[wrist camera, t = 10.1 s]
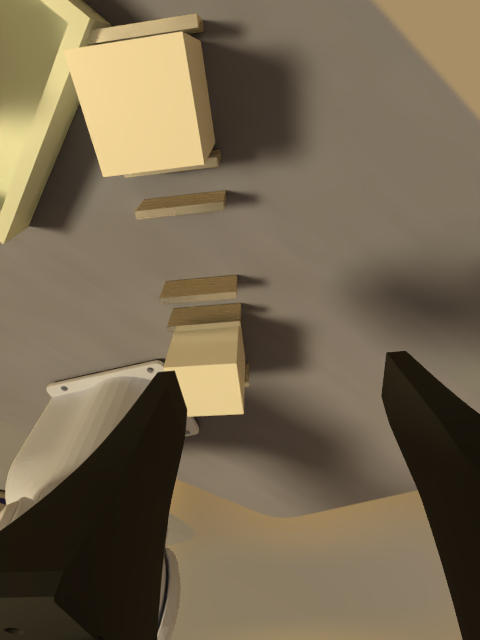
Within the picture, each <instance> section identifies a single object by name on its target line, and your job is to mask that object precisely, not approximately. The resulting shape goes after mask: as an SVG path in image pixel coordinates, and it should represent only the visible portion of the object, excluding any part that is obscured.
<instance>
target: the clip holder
mask: <svg viewBox="0 0 480 640" xmlns="http://www.w3.org/2000/svg"><path fill="white" fill-rule="evenodd" d="M182 31H183V32H184V33H186V34H193V33H199V32H204V27H203V20H202V19H201V18H200V17H199V16H198V15H197V14H191V15H184V16H178V17H172V18H165V19H159V20H152V21H146V22H140V23H133V24H127V25H121V26H114V27H108V28H102V29H95V30H91V31H90V33H89V36H88V39H87V44H89V45H99V44H106V43H112V42H118V41H125V40H131V39H137V38H144V37H150V36H156V35H163V34H169V33H175V32H182ZM220 160H221V153H220V149H218V150H211V152H210V154H209V156H208V158H207V160H206V162H205V164H204V165H196V166H188V167H180V168H172V169H164V170H156V171H148V172H140V173H132V174H124V176H125V178H126V177H135V176H143V175H151V174H160V173H168V172H177V171H185V170H194V169H202V168H210V167H218V165H219V163H220ZM226 199H227V197H226V190H225V191H216V192H207V193H198V194H189V195H180V196H171V197H162V198H154V199H145V200H144V201H143V202H142V203H141V204H140V205H139V207H138V208H137V209H136V210H135V215H136V219H145V218H155V217H164V216H173V215H183V214H192V213H201V212H210V211H220V210H224V209H225V204H226ZM237 285H238V278H237V275H231V276H220V277H210V278H199V279H188V280H177V281H166V282H165V285H164V287H163V290H162V292H161V295H160V297H159V300H160V304H170V303H182V302H193V301H205V300H217V299H228V298H237ZM241 309H242V308H241V303H236V304H224V305H212V306H200V307H188V308H177V309H173V310H172V313H171V316H170V319H169V322H168V325H167V329H168V332H178V331H190V330H203V329H216V328H228V327H241ZM245 387H249V363H245Z"/></svg>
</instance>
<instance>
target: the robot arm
mask: <svg viewBox="0 0 480 640" xmlns="http://www.w3.org/2000/svg"><path fill="white" fill-rule="evenodd" d="M163 367H164V363H163V362H162V361H159V360H155V361H150V362H146V363H141V364H137V365H132V366H128V367H123V368H119V369H114V370H109V371H105V372H100V373H96V374H91V375H87V376H82V377H78V378H73V379H68V380H64V381H59V382H55V383H51V384H49V385H48V387H47V388H46V390H47V392H48V393H49V394H50V396H51V397H52V399H51V400H50V402H49V403H48V405H47V407H46V408H45V410H44V412H43V413H42V415H41V417H40V418H39V420H38V421H37V423H36V425H35V426H34V428H33V430H32V431H31V433H30V435H29V436H28V438H27V439H26V441H25V443H24V444H23V446H22V448H21V449H20V451H19V453H18V454H17V456H16V458H15V459H14V461H13V463H12V465H11V468H10V470H9V473H8V477H7V482H6V490H5V500H6V506H5V507H4V508H3V510H2V511H1V512H0V640H170V639H171V636H172V633H173V630H174V626H175V622H176V618H177V614H178V608H179V602H180V587H181V585H180V574H179V569H178V563H177V559H176V556H175V554H174V553H173V552H172V551H171V550H170V549H169V548H166V547H165V544H166V538H167V533H168V528H167V525H168V517H169V509H170V504H171V499H172V494H173V490H174V485H175V481H176V476H177V472H178V467H179V463H180V459H181V454H182V449H183V445H184V440H185V437H186V436H191V435H196V434H198V432H199V426H198V425H197V423H196V421H195V419H194V417H187V407H186V404H185V401H184V398H183V395H182V392H181V389H180V385H179V382H178V379H177V376H176V373H175V371H164V369H163ZM150 368H153V369H150ZM382 400H383V403H384V407H385V411H386V414H387V417H388V421H389V424H390V426H391V429H392V431H393V433H394V436H395V438H396V440H397V443H398V445H399V447H400V450H401V452H402V454H403V457H404V459H405V461H406V463H407V466H408V468H409V470H410V473H411V475H412V477H413V480H414V482H415V484H416V486H417V489H418V492H419V494H420V497H421V499H422V502H423V505H424V508H425V511H426V514H427V517H428V521H429V523H430V527H431V530H432V533H433V536H434V539H435V543H436V546H437V549H438V553H439V556H440V559H441V562H442V566H443V569H444V573H445V576H446V580H447V583H448V587H449V590H450V594H451V597H452V601H453V604H454V608H455V612H456V616H457V619H458V623H459V627H460V631H461V635H462V639H463V640H480V414H479V413H477V412H476V411H475V410H474V409H472V408H471V407H470V406H468V405H467V404H466V403H465V402H463V401H462V400H461V399H460V398H458V397H457V396H456V395H455V394H454V393H453V392H451V391H450V390H449V389H448V388H447V387H445V386H444V385H443V384H442V383H441V382H440V381H438V380H437V379H436V378H435V377H434V376H433V375H432V374H431V373H430V372H428V371H427V370H426V369H425V368H424V367H423V366H422V365H421V364H420V363H419V362H417V361H416V360H415V359H414V358H413V357H412V356H411V355H410V354H409V353H407V352H406V351H399V352H387V353H386V361H385V370H384V379H383V387H382Z"/></svg>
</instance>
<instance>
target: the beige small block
mask: <svg viewBox="0 0 480 640" xmlns="http://www.w3.org/2000/svg"><path fill="white" fill-rule="evenodd" d="M163 369H164V371H175V373H176V376H177V379H178V382H179V385H180V389H181V392H182V395H183V398H184V401H185V404H186V407H187V417H193V416H214V415H235V414H244V388H245V353H244V345H243V337H242V330H241V327H228V328H216V329H203V330H190V331H178V332H174V334H173V337H172V340H171V344H170V347H169V350H168V353H167V357H166V360H165V363H164V367H163Z"/></svg>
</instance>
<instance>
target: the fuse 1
mask: <svg viewBox="0 0 480 640" xmlns="http://www.w3.org/2000/svg"><path fill="white" fill-rule="evenodd" d="M63 51H64V54H65V58H66V61H67V64H68V67H69V70H70V73H71V76H72V80H73V83H74V86H75V89H76V92H77V95H78V99H79V102H80V105H81V108H82V111H83V114H84V117H85V121H86V124H87V127H88V130H89V133H90V136H91V140H92V143H93V146H94V149H95V152H96V155H97V158H98V162H99V165H100V168H101V171H102V174H103V177H107V176H115V175H123V174H132V173H140V172H148V171H156V170H164V169H172V168H180V167H188V166H196V165H204V164H205V162H206V160H207V158H208V156H209V154H210V152H211V150H212V148H213V146H214V145H215V137H214V130H213V123H212V116H211V109H210V102H209V95H208V88H207V81H206V74H205V67H204V60H203V53H202V46H201V41H199V40H198V39H196V38H194V37H192V36H190V35H188V34H186V33H184V32H183V31H182V32H175V33H169V34H163V35H156V36H150V37H144V38H137V39H131V40H125V41H118V42H112V43H106V44H99V45H93V46H87V47H80V48H74V49H68V50H63Z"/></svg>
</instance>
